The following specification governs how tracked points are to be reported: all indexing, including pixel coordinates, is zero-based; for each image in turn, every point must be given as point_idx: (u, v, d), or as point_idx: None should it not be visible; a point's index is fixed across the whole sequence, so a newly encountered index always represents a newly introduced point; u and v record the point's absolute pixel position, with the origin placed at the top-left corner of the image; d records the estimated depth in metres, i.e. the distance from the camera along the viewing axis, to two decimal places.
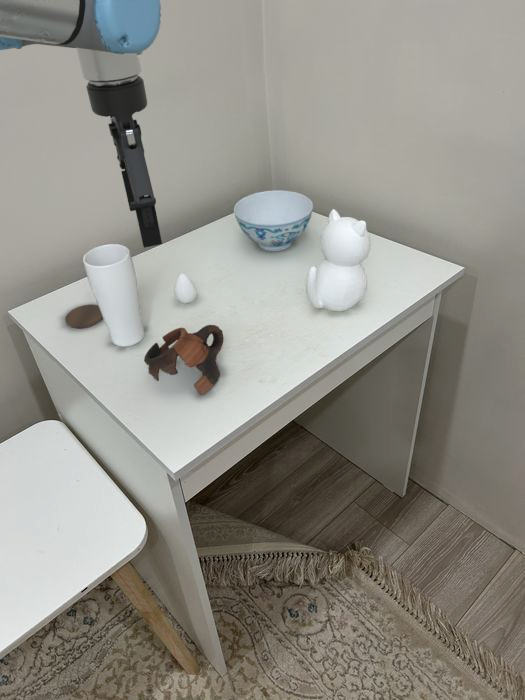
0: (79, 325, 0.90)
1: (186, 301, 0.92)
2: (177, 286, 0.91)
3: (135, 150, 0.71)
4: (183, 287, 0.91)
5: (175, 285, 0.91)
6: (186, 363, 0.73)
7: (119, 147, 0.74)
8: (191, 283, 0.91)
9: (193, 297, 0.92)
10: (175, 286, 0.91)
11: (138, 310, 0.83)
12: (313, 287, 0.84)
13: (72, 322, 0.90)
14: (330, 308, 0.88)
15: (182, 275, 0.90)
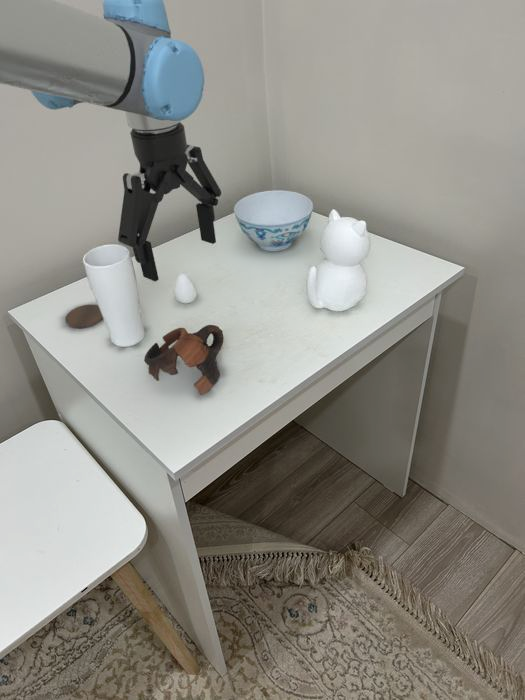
0: (79, 325, 0.90)
1: (186, 301, 0.92)
2: (177, 286, 0.91)
3: (130, 194, 0.76)
4: (183, 287, 0.91)
5: (175, 285, 0.91)
6: (186, 363, 0.73)
7: (143, 185, 0.79)
8: (191, 283, 0.91)
9: (193, 297, 0.92)
10: (175, 286, 0.91)
11: (138, 310, 0.83)
12: (313, 287, 0.84)
13: (72, 322, 0.90)
14: (330, 308, 0.88)
15: (182, 275, 0.90)
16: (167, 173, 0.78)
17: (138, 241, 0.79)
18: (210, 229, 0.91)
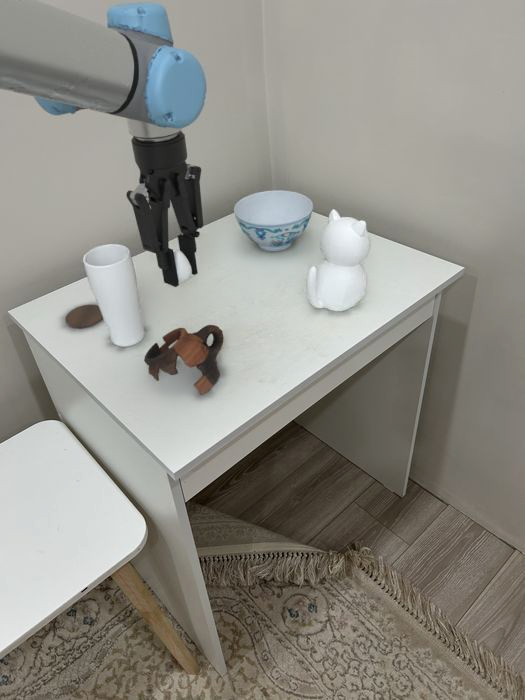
0: (79, 325, 0.90)
1: (181, 279, 0.89)
2: None
3: (139, 210, 0.78)
4: (177, 264, 0.88)
5: None
6: (186, 363, 0.73)
7: (149, 195, 0.81)
8: (186, 260, 0.88)
9: (188, 275, 0.89)
10: None
11: (138, 310, 0.83)
12: (313, 287, 0.84)
13: (72, 322, 0.90)
14: (330, 308, 0.88)
15: (177, 252, 0.87)
16: (167, 181, 0.78)
17: (162, 250, 0.84)
18: (191, 260, 0.90)
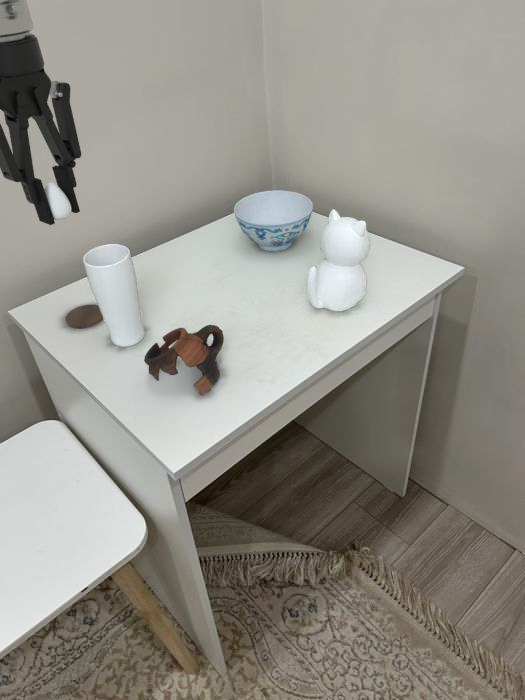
0: (79, 325, 0.90)
1: (57, 216, 0.79)
2: None
3: None
4: (50, 198, 0.77)
5: None
6: (186, 363, 0.73)
7: (5, 114, 0.71)
8: (62, 194, 0.78)
9: (65, 212, 0.79)
10: None
11: (138, 310, 0.83)
12: (313, 287, 0.84)
13: (72, 322, 0.90)
14: (330, 308, 0.88)
15: (49, 184, 0.77)
16: (20, 94, 0.68)
17: (26, 179, 0.73)
18: (70, 195, 0.79)
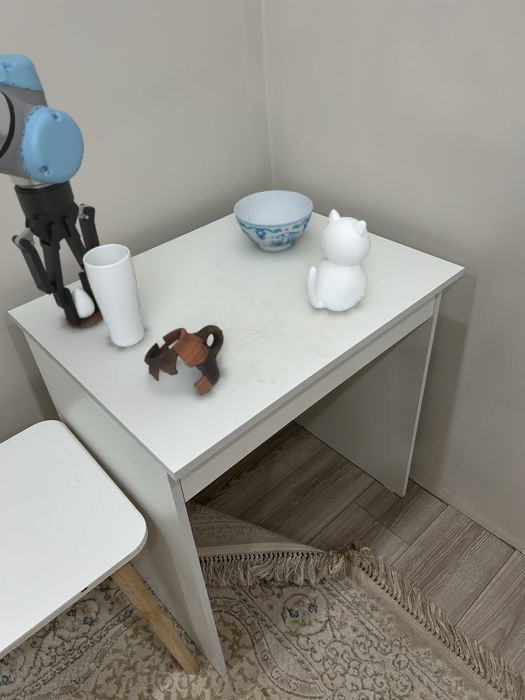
0: (79, 325, 0.90)
1: (82, 316, 0.90)
2: None
3: (27, 254, 0.79)
4: (77, 301, 0.88)
5: None
6: (186, 363, 0.73)
7: (39, 238, 0.82)
8: (86, 297, 0.89)
9: (90, 311, 0.90)
10: None
11: (138, 310, 0.83)
12: (313, 287, 0.84)
13: (72, 322, 0.90)
14: (330, 308, 0.88)
15: (76, 289, 0.88)
16: (53, 224, 0.79)
17: (57, 290, 0.84)
18: (93, 297, 0.90)
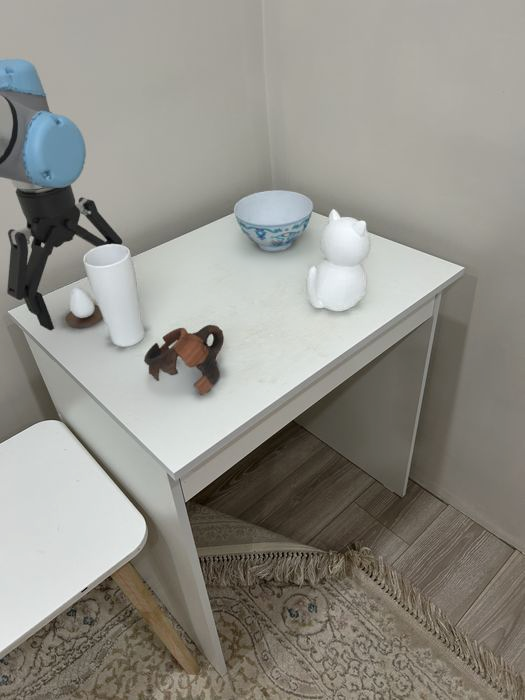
0: (79, 325, 0.90)
1: (82, 316, 0.90)
2: (71, 300, 0.89)
3: (16, 250, 0.77)
4: (77, 301, 0.88)
5: (70, 299, 0.89)
6: (186, 363, 0.73)
7: (34, 239, 0.81)
8: (86, 297, 0.89)
9: (89, 311, 0.90)
10: (70, 300, 0.89)
11: (138, 310, 0.83)
12: (313, 287, 0.84)
13: (72, 322, 0.90)
14: (330, 308, 0.88)
15: (76, 289, 0.88)
16: (55, 228, 0.79)
17: (27, 294, 0.81)
18: None
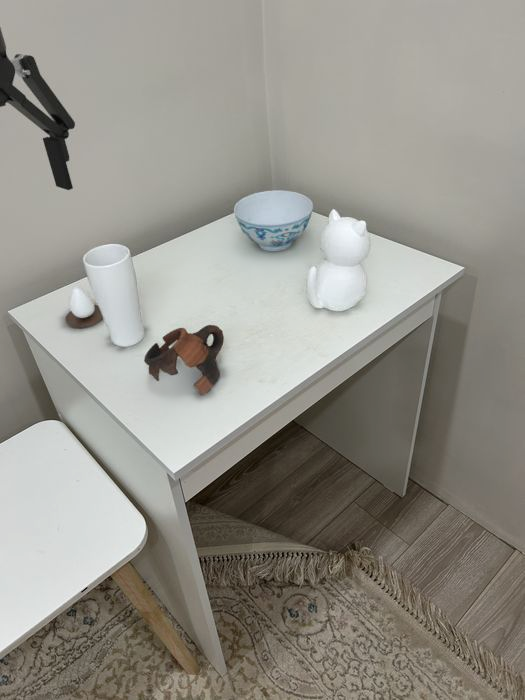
0: (79, 325, 0.90)
1: (82, 316, 0.90)
2: (71, 300, 0.89)
3: None
4: (77, 301, 0.88)
5: (70, 299, 0.89)
6: (186, 363, 0.73)
7: None
8: (86, 297, 0.89)
9: (89, 311, 0.90)
10: (70, 300, 0.89)
11: (138, 310, 0.83)
12: (313, 287, 0.84)
13: (72, 322, 0.90)
14: (330, 308, 0.88)
15: (76, 289, 0.88)
16: None
17: None
18: (62, 170, 0.73)
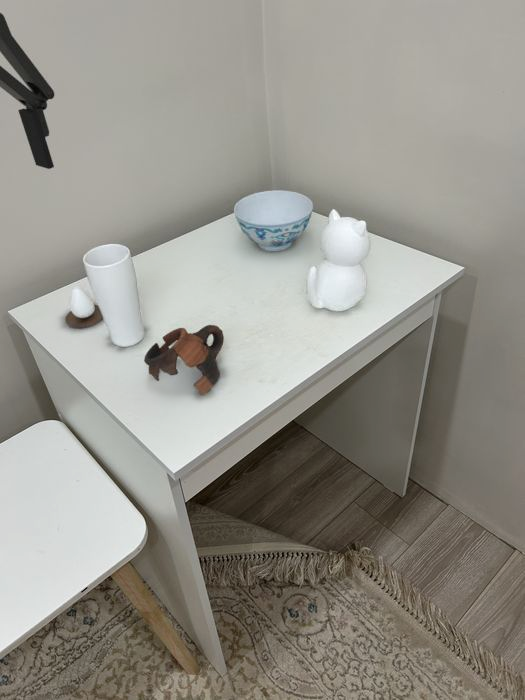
0: (79, 325, 0.90)
1: (82, 316, 0.90)
2: (71, 300, 0.89)
3: None
4: (77, 301, 0.88)
5: (70, 299, 0.89)
6: (186, 363, 0.73)
7: None
8: (86, 297, 0.89)
9: (89, 311, 0.90)
10: (70, 300, 0.89)
11: (138, 310, 0.83)
12: (313, 287, 0.84)
13: (72, 322, 0.90)
14: (330, 308, 0.88)
15: (76, 289, 0.88)
16: None
17: None
18: (41, 146, 0.65)
